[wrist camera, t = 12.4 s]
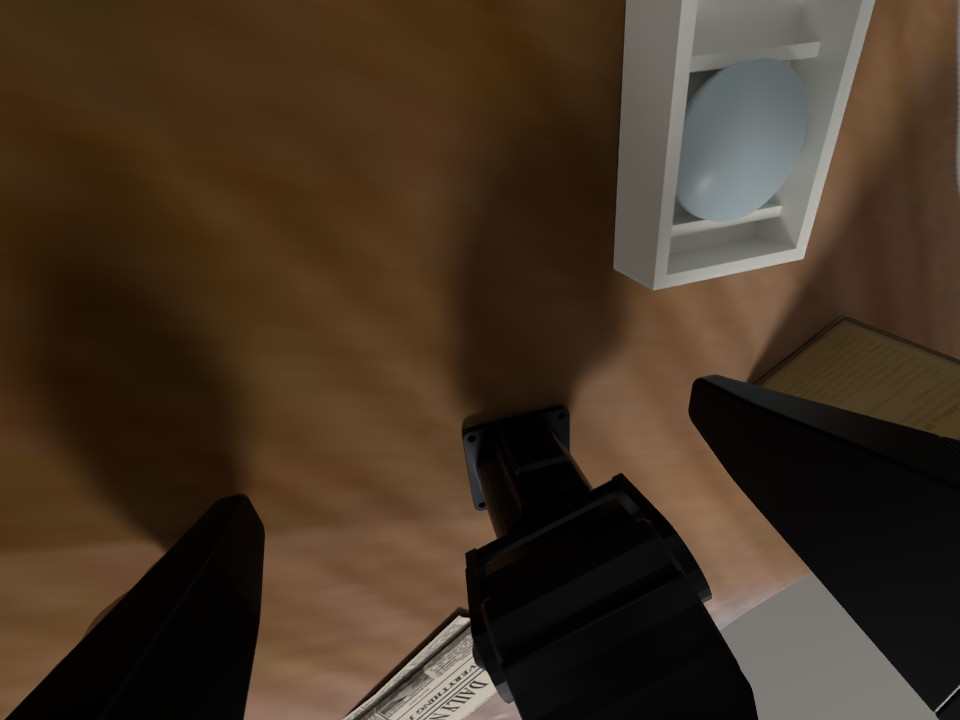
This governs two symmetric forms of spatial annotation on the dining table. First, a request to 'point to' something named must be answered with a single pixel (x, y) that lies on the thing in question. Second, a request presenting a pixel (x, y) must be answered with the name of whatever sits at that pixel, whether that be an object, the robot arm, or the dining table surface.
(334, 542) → the dining table surface
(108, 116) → the dining table surface
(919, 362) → the food packaging
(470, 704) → the newspaper
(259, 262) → the dining table surface
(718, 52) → the rack
